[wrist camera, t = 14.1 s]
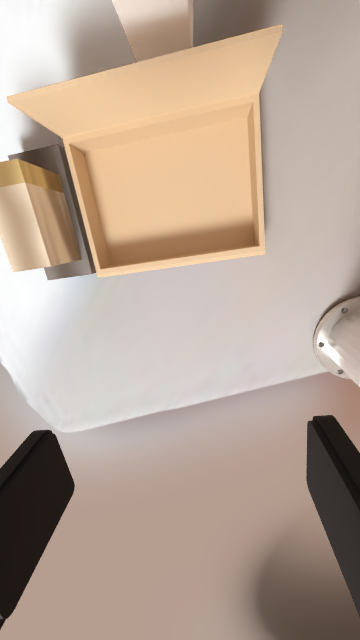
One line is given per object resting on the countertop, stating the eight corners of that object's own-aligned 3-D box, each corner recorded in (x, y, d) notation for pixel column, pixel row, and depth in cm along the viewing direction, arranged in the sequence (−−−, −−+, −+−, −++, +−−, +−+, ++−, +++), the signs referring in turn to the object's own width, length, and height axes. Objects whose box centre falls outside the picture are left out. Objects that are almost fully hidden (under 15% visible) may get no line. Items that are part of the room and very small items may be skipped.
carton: (251, 107, 28) (282, 23, 17) (258, 251, 33) (285, 261, 22) (78, 145, 31) (6, 96, 20) (109, 273, 36) (65, 291, 25)
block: (59, 174, 30) (17, 158, 23) (81, 259, 33) (50, 266, 26) (25, 181, 30) (-25, 167, 24) (50, 264, 33) (13, 272, 27)
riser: (71, 152, 31) (57, 144, 29) (100, 270, 36) (91, 273, 33) (25, 162, 32) (7, 155, 29) (59, 276, 37) (47, 280, 34)
